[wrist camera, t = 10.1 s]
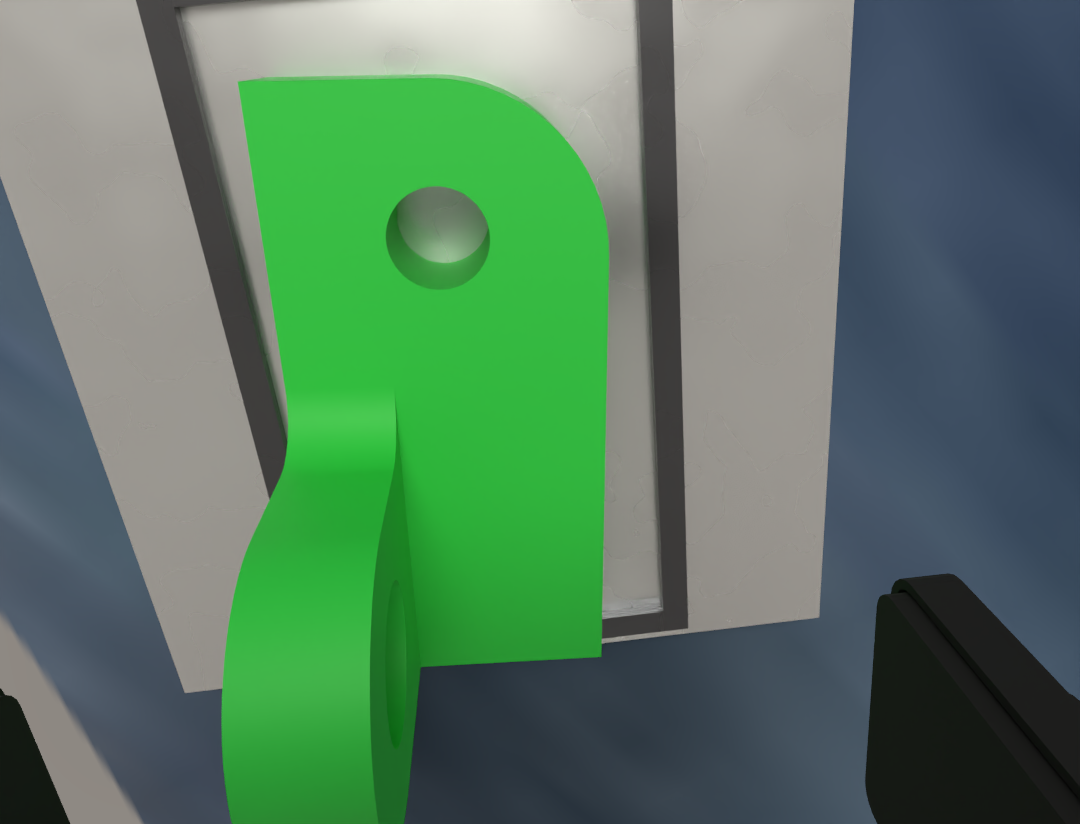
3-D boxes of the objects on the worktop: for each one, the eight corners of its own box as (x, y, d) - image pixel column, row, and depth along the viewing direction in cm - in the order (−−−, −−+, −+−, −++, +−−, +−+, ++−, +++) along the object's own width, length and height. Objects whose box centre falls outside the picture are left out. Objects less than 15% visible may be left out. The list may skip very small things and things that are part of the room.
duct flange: (798, 582, 22) (823, 625, 20) (204, 652, 22) (180, 701, 20) (827, -113, 15) (868, -132, 14) (-25, -27, 15) (-86, -36, 14)
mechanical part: (590, 601, 20) (652, 918, 13) (343, 613, 20) (261, 947, 12) (597, 70, 15) (703, 94, 8) (267, 77, 15) (60, 108, 8)
